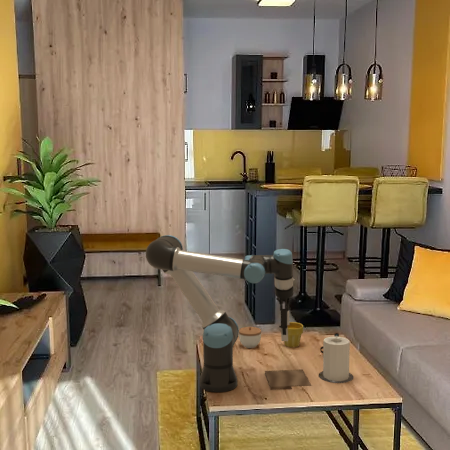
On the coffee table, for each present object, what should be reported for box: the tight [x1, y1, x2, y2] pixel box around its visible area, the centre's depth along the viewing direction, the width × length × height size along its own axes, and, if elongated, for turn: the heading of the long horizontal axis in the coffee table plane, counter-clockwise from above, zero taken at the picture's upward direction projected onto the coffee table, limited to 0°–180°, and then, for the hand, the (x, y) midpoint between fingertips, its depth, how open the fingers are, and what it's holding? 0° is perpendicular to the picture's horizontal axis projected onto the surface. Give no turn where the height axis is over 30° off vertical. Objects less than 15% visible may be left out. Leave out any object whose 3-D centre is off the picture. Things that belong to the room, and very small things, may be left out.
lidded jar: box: [238, 326, 262, 349], centre depth 277 cm, size 11×11×9 cm
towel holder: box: [318, 370, 354, 384], centre depth 238 cm, size 14×14×13 cm
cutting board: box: [264, 368, 312, 391], centre depth 237 cm, size 16×16×1 cm
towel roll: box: [322, 336, 351, 381], centre depth 238 cm, size 10×10×15 cm
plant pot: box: [283, 321, 304, 348], centre depth 278 cm, size 10×10×10 cm
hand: (285, 332), depth 247 cm, fingers open, 13 cm apart
